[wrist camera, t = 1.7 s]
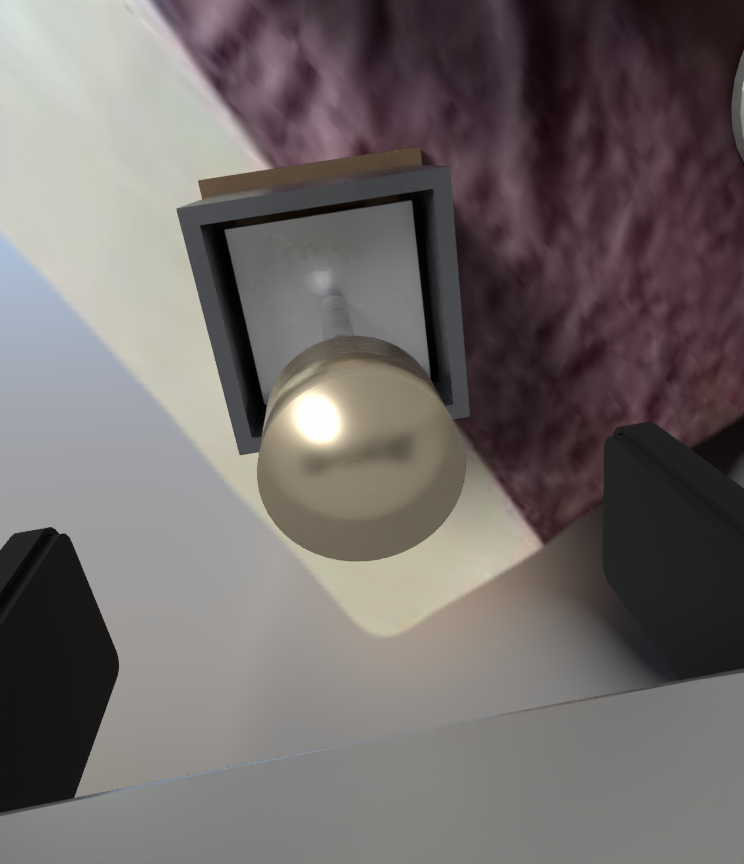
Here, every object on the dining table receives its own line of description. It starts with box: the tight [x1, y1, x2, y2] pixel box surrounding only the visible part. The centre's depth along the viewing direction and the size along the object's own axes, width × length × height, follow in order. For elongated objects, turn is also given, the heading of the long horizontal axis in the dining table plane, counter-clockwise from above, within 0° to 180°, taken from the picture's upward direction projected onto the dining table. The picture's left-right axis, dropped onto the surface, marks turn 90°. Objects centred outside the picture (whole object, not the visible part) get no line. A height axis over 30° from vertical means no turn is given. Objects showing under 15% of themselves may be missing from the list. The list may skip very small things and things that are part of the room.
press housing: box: [177, 146, 470, 455], centre depth 31 cm, size 12×12×12 cm
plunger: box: [225, 199, 466, 561], centre depth 21 cm, size 8×8×17 cm
